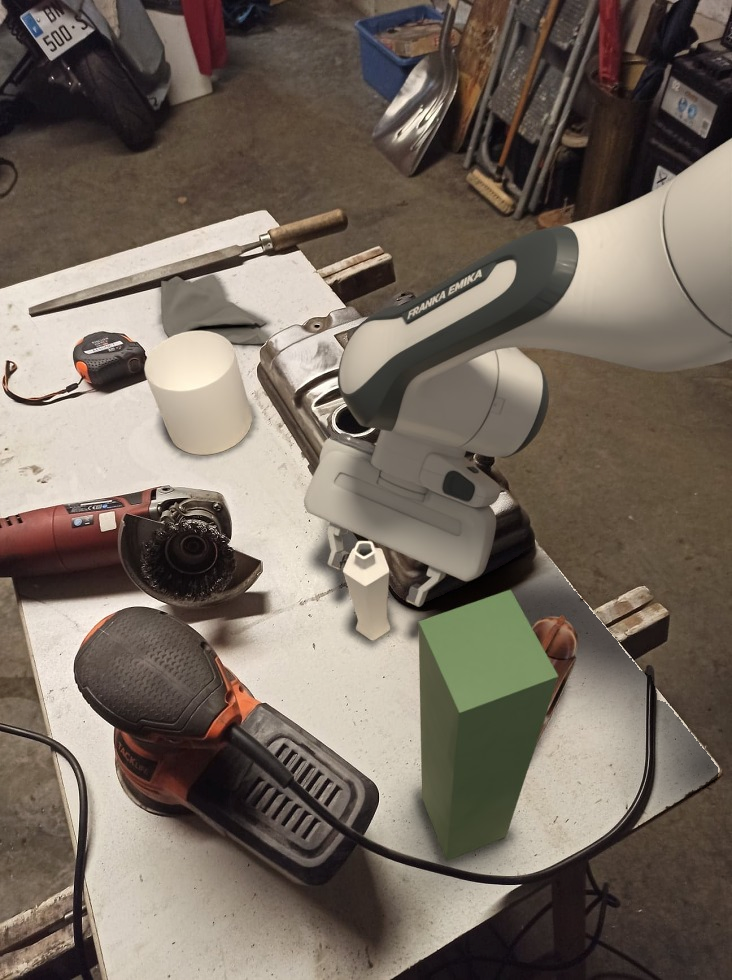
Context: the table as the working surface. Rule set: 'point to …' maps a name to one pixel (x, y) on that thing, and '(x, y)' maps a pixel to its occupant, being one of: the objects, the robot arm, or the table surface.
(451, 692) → the block
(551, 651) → the brown ribbed piece
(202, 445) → the cup
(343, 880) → the table surface
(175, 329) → the cloth
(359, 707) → the table surface
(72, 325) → the table surface
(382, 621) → the white faceted bottle
